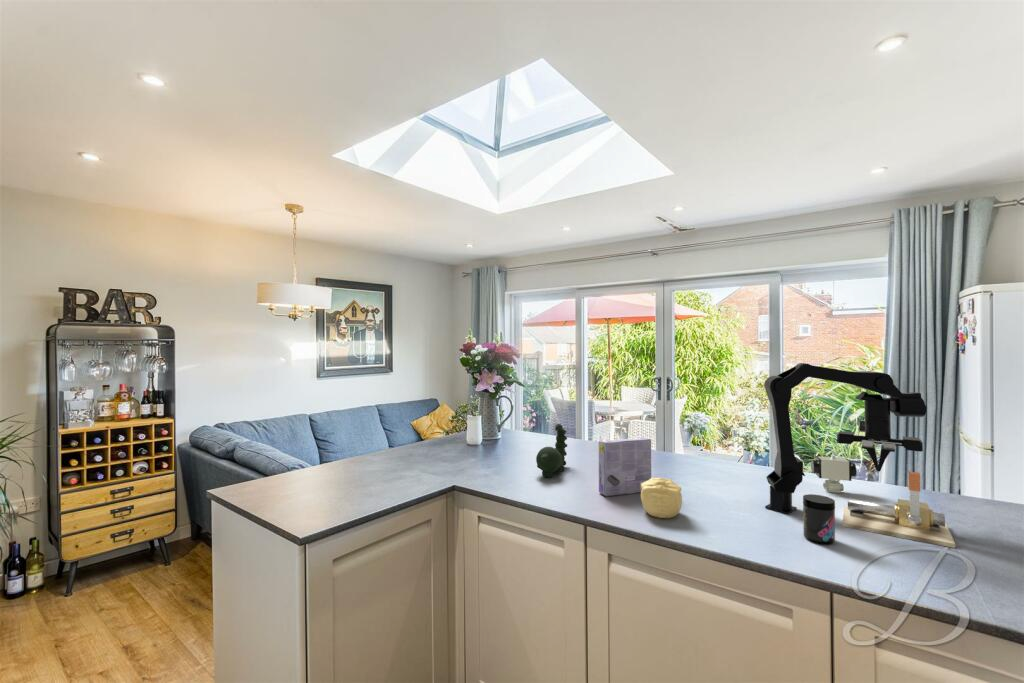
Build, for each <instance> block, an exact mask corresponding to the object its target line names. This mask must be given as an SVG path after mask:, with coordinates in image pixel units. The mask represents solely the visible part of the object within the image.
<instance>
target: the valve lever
mask: <svg viewBox="0 0 1024 683" xmlns="http://www.w3.org/2000/svg"><path fill="white" fill-rule="evenodd" d="M907 473H908V475H907V476H908V477H907V479H908V480H907V485H908V487H907V488H908V491H909V501H910V514H909V515H908V516H907V519H908V522H909V523H910V524H911V525H912V526H920V525H921V524H922V519H921V517H920V513H919V502H920V492H921V473H920V472H916V471H910V470H909V471H908V472H907Z"/></svg>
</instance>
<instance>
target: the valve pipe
mask: <svg viewBox="0 0 1024 683" xmlns="http://www.w3.org/2000/svg"><path fill="white" fill-rule="evenodd" d="M847 507H848V510H850V516H853V517H859V518H864V513H868V514H874V515H880V516H886V517H891V518H895V521H898V522H899V525H900V526H906V527H911V528H917V529H922V530H928V531H936V532H940V527H939V526H943V527H945V524H946V516H945V513H941V512H934V510H933V509H932V508H931V509H930V507H929V504H928V503H927V502H921V501H919V513H920V517H921V519H922V524H921V525H920V526H912V525H911V524H910V523H909V522H908V519H907V516H908V515H909V514H910V499H902V498H897V503H894V504H893V505H891V504H886V503H880V502H873V501H868V500H861V499H854V498H847Z"/></svg>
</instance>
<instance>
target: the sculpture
mask: <svg viewBox="0 0 1024 683" xmlns="http://www.w3.org/2000/svg"><path fill="white" fill-rule="evenodd" d="M641 488H642V491H641V492H640V501H641V505H642V507H643V508H644V510H645V512H646V513H647V514H648V515H650V516H652V517H655V518H660V519H672V518H675V517H676V516H677V515H678V514H679V513H680V511H681V509H682V505H683V496H682V493H681V492H682V487H681V485H679V484H677V483H675V482H674V481H673V479H670V478H664V477H653V476H651V479H650V480H648V481H646V482H643V483H642V484H641Z"/></svg>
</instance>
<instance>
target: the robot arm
mask: <svg viewBox="0 0 1024 683" xmlns="http://www.w3.org/2000/svg"><path fill="white" fill-rule="evenodd" d="M808 378H812V379H819V380H825V381H830V382H837V383H842V384H849V385H851V386H854V387H856V388H858V389H859V388H860V389H863V390H867V391H870V392H874V393H872V394H871V393H868V392H867V391H861V392H860V393H859V394H858V395H856V396H855V399H856V400H858V401H864V420H859V422H858V423H859V424H858V425H859V426H858V427H859V432H860V433H864V435H859V434H858V435H857V434H855V432H854V431H845V430H840V431H838V432H837V434H836V443H838V444H842V445H843V444H844V445H851V444H853V443H854V442H856V443H857V442H858V443H861V449H864V450H866V451H867V453H868V454H869V457H870V459H871V461H872V463H873V465H874V468H875V471H876V472H881V470H882V469H883V466H884V463H885V461H886V459H887V457H888V456H889V454H890V453H891V452H892V453H895V452H896V449H895V448H896V447H903V448H904V449H906V450H907V451H911V452H920V453H921V452H924V450H923V449H924V447H923V446H924V445H923V444H924V443H923V440H922V439H921V438H919V437H915V436H913V437H912V436H902V438H901V439H900V438H892V431H891V429H892V428H891V427H892V425H891V423H892V421H891V413H892V414H893V415H894V416H895V417H900V418H901V417H902V418H904V417H907V418H923V417H925V416H926V413H927V405H926V403H925V400H924V399H923V398H922V393H920V392H916V391H915V392H912V391H911V392H901V391H900V390H899V388H898V387H897V386H896V384H894V379H893V378H892V377H891V375H890V374H888V373H885V372H880V371H871V370H870V371H869V370H868V371H865V370H864V371H863V370H862V371H861V370H860V371H858V370H857V371H854V370H853V371H849V370H844V369H836V368H830V367H824V366H819V365H812V364H809V363H804V362H800V363H798V364H796V365H794V366H793V367H791V368H788V369H787V370H785V371H783V372H780V373H778V374H777V375H771V376H769V377H767V378H766V379H765V381H764V390H765V393H766V396H767V398H768V401H769V403H770V405H771V407H772V408H771V410H772V416H773V417H772V418H773V425H774V426H773V427H774V433H775V435H774V436H775V443H776V450H777V451H776V455H775V456H776V457H775V460H774V470H773V471H771V472H770V473H769V474H768V475H767V476H766V480H767V483H768V484H769V485H770V486H769V504H767V505H764V506H765V507H764V508H765V509H768V510H772V511H774V512H775V511H776V512H779V513H783V514H787V515H788V514H791V513H793V512H794V511H796V510H798V508H797V507H796V506H793V494H794V493H795V492H796V489H797V486H799V485H800V484H801V483H802V482H803V477H806V474H805V472H804V462H803V461H802V460H801V459H799V458H798V457H797V456H796V455H795V451H794V443H793V435H792V433H793V432H792V425H791V416H790V409H789V408H790V403H791V399H792V393H793V392H792V389H794V388H796V387H797V386H798V385H800V384H801V383H802V382H803V381H805V380H806V379H808ZM875 393H876V394H875ZM882 395H884V396H889V397H883V396H882ZM875 444H876V445H880V453H879V457H878V456H877V451H876V445H875ZM878 458H879V459H878Z"/></svg>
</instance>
